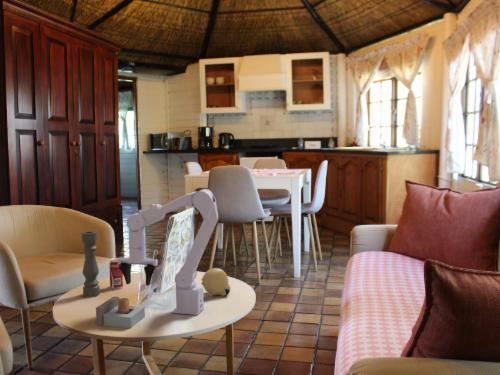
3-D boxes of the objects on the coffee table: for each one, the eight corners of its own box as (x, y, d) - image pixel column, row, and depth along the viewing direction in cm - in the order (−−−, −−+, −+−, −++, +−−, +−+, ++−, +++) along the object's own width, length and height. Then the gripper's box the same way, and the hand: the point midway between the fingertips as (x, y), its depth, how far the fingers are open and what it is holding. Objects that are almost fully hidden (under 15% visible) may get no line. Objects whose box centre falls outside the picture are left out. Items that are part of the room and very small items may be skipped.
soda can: (111, 285, 206) (110, 257, 205) (124, 285, 206) (123, 257, 205) (108, 289, 201) (107, 260, 200) (121, 289, 201) (121, 260, 200)
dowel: (130, 318, 167) (129, 298, 166) (127, 322, 163) (127, 301, 163) (120, 318, 167) (119, 298, 166) (117, 322, 163) (116, 301, 163)
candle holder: (95, 297, 190) (93, 234, 188) (80, 296, 191) (78, 233, 189) (102, 292, 197) (100, 231, 194) (87, 292, 198) (85, 230, 195)
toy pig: (216, 307, 190) (237, 289, 189) (195, 285, 188) (216, 267, 188) (216, 298, 200) (236, 281, 199) (196, 277, 198) (216, 260, 197)
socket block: (144, 318, 169) (144, 307, 169) (131, 329, 160) (131, 317, 159) (118, 316, 172) (118, 305, 171) (103, 326, 162) (103, 315, 162)
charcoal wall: (119, 313, 173) (119, 296, 172) (102, 326, 161) (101, 308, 161) (114, 313, 173) (113, 296, 173) (96, 325, 162) (95, 307, 161)
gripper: (160, 245, 177) (161, 282, 178) (123, 243, 180) (124, 279, 181) (152, 249, 170) (153, 288, 171) (114, 247, 173) (115, 285, 174)
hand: (138, 284), depth 176 cm, fingers open, 7 cm apart
